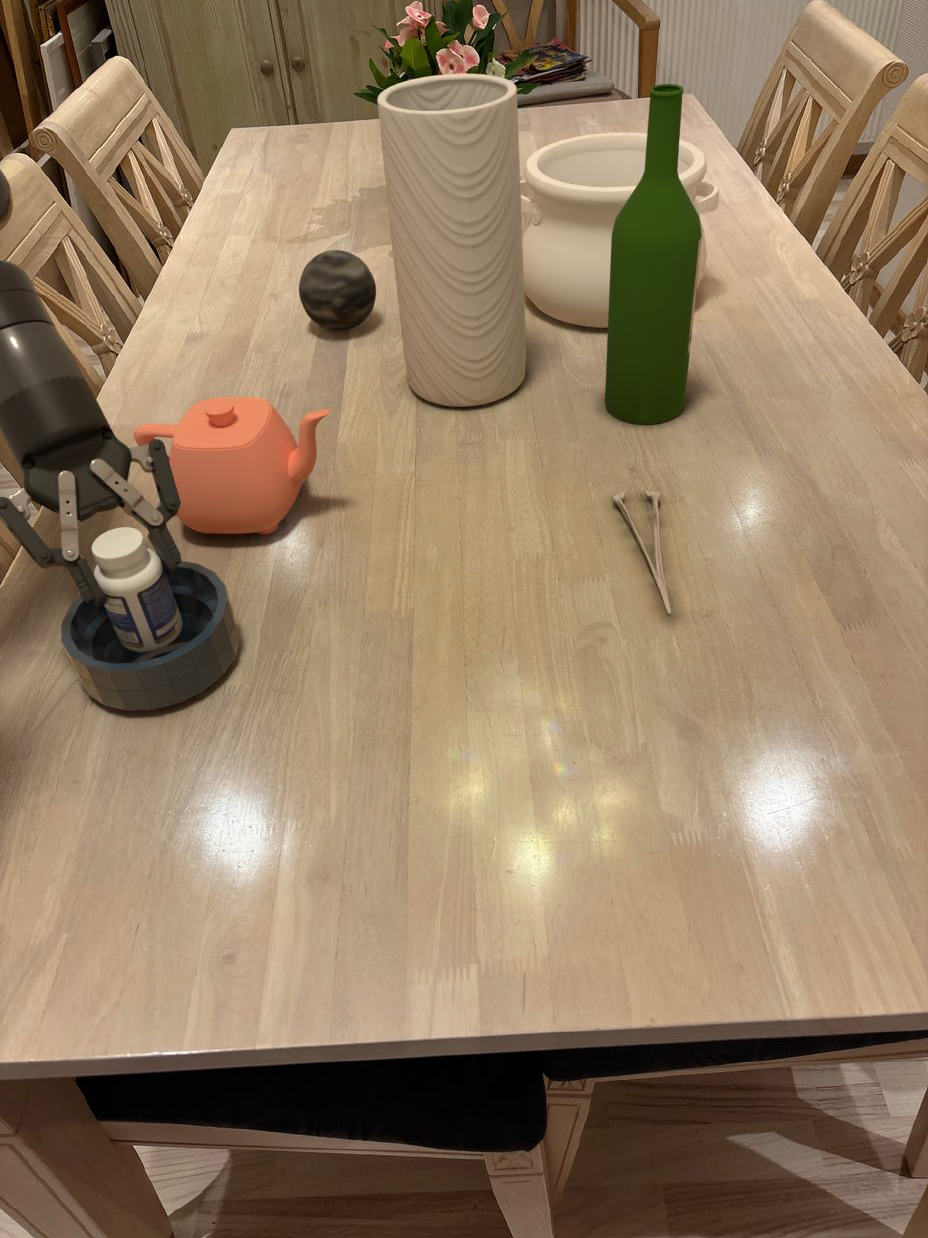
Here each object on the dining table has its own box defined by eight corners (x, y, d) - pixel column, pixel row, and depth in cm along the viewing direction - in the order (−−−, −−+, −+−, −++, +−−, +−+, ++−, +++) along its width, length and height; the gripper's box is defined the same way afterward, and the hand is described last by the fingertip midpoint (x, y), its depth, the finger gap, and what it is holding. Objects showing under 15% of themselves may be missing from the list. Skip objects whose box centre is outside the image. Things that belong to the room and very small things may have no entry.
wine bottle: (697, 416, 107) (734, 93, 86) (621, 431, 106) (639, 107, 84) (665, 379, 114) (692, 69, 92) (593, 392, 113) (602, 82, 91)
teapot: (335, 550, 94) (314, 443, 86) (138, 548, 96) (99, 443, 88) (359, 472, 104) (342, 369, 95) (179, 472, 106) (148, 371, 98)
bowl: (115, 743, 77) (93, 696, 74) (62, 650, 86) (39, 604, 82) (268, 667, 83) (254, 619, 79) (203, 586, 91) (188, 540, 87)
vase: (521, 412, 111) (513, 110, 89) (398, 411, 112) (361, 115, 91) (530, 352, 121) (524, 69, 100) (417, 352, 123) (388, 74, 102)
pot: (497, 332, 125) (491, 193, 114) (530, 256, 143) (528, 128, 131) (703, 342, 120) (719, 196, 108) (712, 261, 137) (726, 128, 125)
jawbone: (610, 500, 97) (611, 484, 96) (657, 497, 97) (659, 481, 96) (640, 627, 85) (643, 611, 83) (694, 623, 85) (697, 607, 83)
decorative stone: (383, 339, 126) (373, 263, 119) (306, 348, 126) (292, 273, 119) (377, 306, 134) (368, 233, 127) (305, 315, 133) (292, 242, 126)
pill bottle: (180, 604, 85) (148, 514, 78) (187, 644, 81) (154, 553, 74) (117, 620, 84) (80, 530, 77) (121, 661, 80) (82, 570, 73)
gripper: (-61, 411, 70) (48, 620, 71) (128, 348, 76) (228, 542, 76) (-48, 443, 77) (51, 634, 78) (124, 383, 83) (215, 561, 83)
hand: (138, 587), depth 77 cm, fingers closed on pill bottle, 5 cm apart
